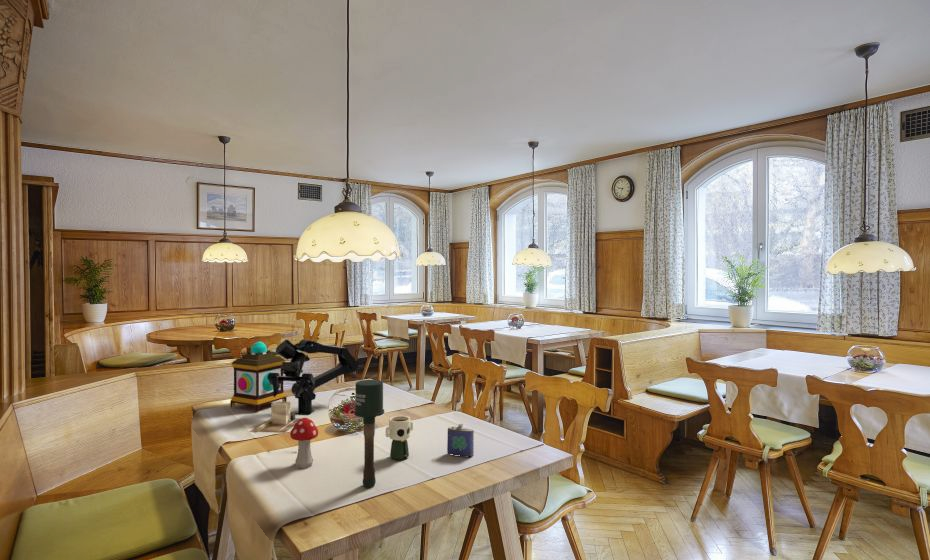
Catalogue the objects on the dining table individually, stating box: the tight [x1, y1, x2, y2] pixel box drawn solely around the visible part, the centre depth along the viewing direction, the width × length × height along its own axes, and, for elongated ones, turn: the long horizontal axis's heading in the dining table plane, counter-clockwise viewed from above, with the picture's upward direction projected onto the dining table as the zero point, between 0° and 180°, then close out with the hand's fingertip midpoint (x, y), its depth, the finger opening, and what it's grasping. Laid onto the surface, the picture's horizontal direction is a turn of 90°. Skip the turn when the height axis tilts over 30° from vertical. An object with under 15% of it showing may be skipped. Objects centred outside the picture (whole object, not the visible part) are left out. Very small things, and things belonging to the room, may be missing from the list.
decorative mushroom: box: [289, 417, 319, 469], centre depth 153 cm, size 10×9×15 cm
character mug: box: [385, 415, 414, 460], centre depth 160 cm, size 11×7×13 cm, turn 133°
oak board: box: [248, 413, 302, 434], centre depth 191 cm, size 18×14×3 cm
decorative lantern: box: [230, 341, 287, 413], centre depth 222 cm, size 20×20×30 cm
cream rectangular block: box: [270, 401, 291, 425], centre depth 193 cm, size 4×7×8 cm, turn 85°
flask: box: [446, 423, 475, 457], centre depth 162 cm, size 9×3×11 cm, turn 74°
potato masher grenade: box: [353, 379, 385, 489], centre depth 138 cm, size 8×9×30 cm
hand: (285, 396), depth 196 cm, fingers open, 9 cm apart
